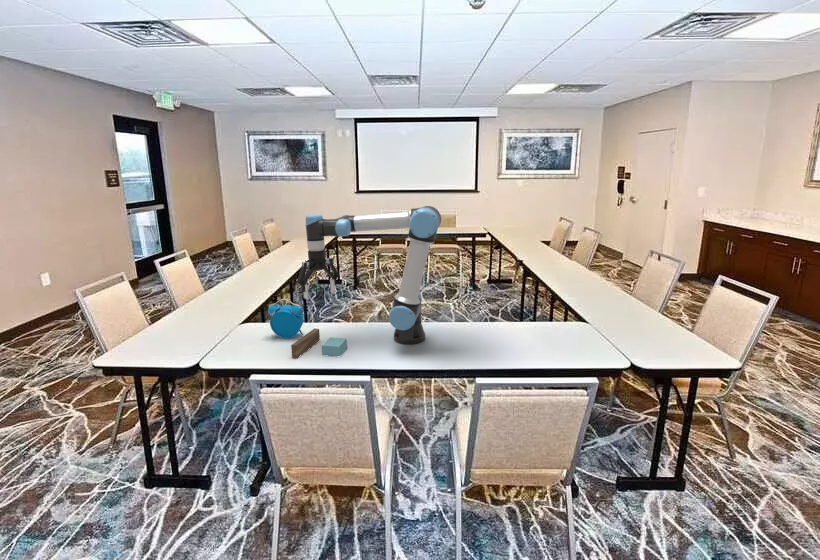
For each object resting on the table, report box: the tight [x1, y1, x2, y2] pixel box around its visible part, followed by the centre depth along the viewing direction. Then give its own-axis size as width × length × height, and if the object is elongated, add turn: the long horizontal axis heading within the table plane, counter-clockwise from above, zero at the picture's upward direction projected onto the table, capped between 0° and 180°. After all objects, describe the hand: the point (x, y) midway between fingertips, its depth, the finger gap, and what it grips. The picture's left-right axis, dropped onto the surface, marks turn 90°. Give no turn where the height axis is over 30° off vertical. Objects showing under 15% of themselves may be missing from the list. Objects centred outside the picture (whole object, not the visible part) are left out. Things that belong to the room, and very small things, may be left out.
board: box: [290, 328, 321, 359], centre depth 214 cm, size 2×22×6 cm, turn 165°
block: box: [321, 337, 348, 357], centre depth 211 cm, size 8×10×5 cm
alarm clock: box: [267, 298, 304, 339], centre depth 228 cm, size 17×10×20 cm, turn 84°
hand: (319, 295), depth 214 cm, fingers open, 13 cm apart
